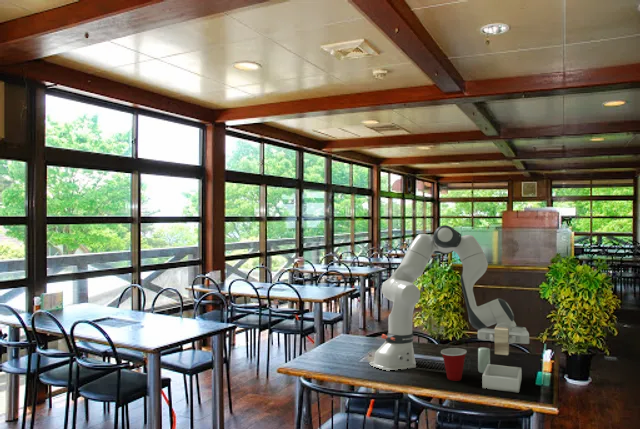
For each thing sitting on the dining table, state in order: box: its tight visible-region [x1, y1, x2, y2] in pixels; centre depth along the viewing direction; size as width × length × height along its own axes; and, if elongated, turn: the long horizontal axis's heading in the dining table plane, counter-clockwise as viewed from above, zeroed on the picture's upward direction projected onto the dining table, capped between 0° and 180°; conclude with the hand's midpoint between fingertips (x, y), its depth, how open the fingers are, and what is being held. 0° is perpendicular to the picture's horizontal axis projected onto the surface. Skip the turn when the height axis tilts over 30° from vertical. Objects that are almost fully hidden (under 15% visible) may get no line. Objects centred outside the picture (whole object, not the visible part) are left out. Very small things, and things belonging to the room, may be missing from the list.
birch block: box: [494, 326, 510, 356], centre depth 203 cm, size 5×5×10 cm
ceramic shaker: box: [477, 347, 491, 374], centre depth 223 cm, size 5×5×10 cm
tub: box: [481, 363, 523, 394], centre depth 206 cm, size 18×14×5 cm
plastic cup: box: [440, 347, 467, 382], centre depth 213 cm, size 11×11×12 cm
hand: (501, 340), depth 203 cm, fingers closed on birch block, 5 cm apart
